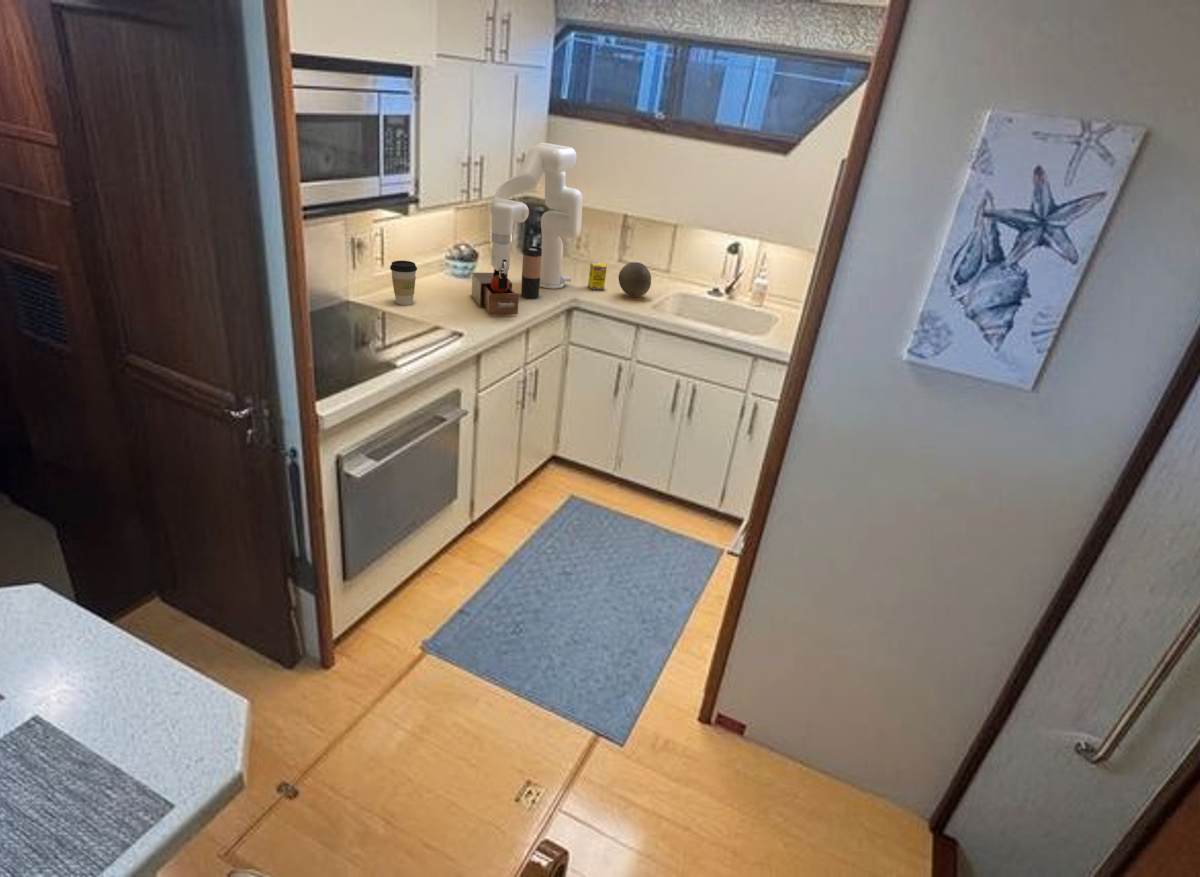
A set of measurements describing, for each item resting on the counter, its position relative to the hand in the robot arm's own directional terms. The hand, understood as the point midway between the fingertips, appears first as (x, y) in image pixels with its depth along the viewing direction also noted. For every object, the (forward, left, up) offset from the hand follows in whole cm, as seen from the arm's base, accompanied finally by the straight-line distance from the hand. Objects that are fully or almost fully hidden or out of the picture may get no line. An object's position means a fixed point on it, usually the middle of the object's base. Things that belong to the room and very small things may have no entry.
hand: (500, 285), depth 263 cm
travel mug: (-18, -18, -10) cm, 27 cm away
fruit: (0, 0, -3) cm, 3 cm away
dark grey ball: (-65, -15, -10) cm, 67 cm away
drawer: (0, +2, -9) cm, 10 cm away
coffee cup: (+34, -12, -10) cm, 38 cm away
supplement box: (-52, -28, -10) cm, 60 cm away
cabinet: (0, -12, -10) cm, 16 cm away
